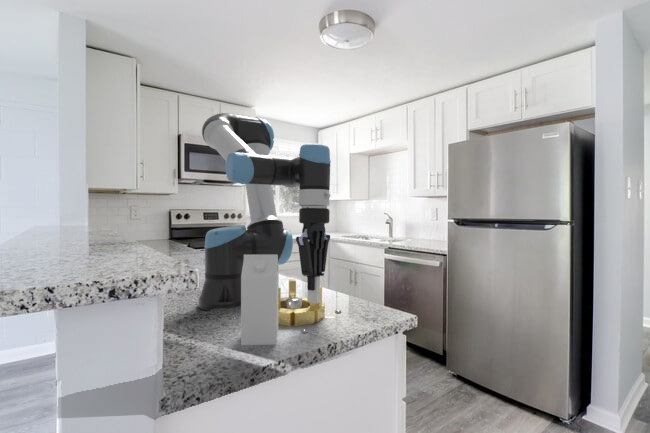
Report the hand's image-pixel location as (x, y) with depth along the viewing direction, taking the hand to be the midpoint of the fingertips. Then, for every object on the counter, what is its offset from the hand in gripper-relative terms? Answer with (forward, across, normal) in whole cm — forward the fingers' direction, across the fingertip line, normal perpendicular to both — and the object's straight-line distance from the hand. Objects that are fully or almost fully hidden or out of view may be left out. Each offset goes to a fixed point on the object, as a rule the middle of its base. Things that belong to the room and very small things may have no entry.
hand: (313, 302), depth 85 cm
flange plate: (+6, 0, +6) cm, 8 cm away
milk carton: (+6, -16, +4) cm, 17 cm away
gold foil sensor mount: (+4, 0, +6) cm, 7 cm away
